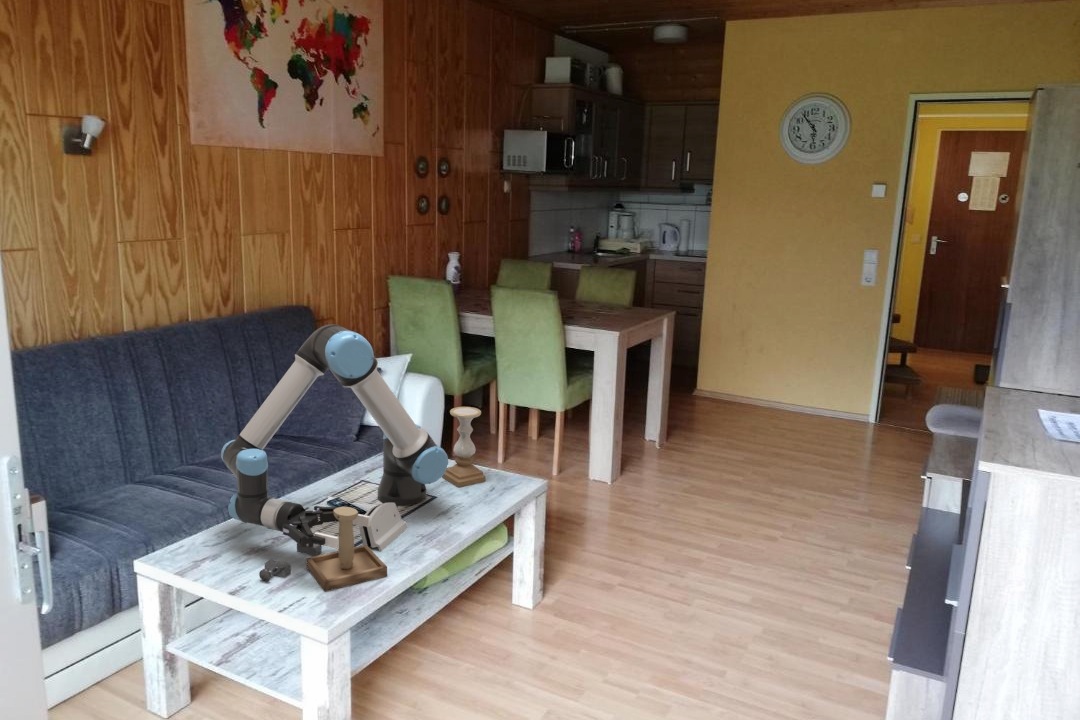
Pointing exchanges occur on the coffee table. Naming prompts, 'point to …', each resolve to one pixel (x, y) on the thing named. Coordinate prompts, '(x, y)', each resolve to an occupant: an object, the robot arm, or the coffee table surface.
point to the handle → (346, 535)
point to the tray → (335, 577)
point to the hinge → (382, 526)
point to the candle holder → (464, 451)
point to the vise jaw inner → (310, 549)
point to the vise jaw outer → (275, 569)
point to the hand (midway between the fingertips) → (354, 532)
